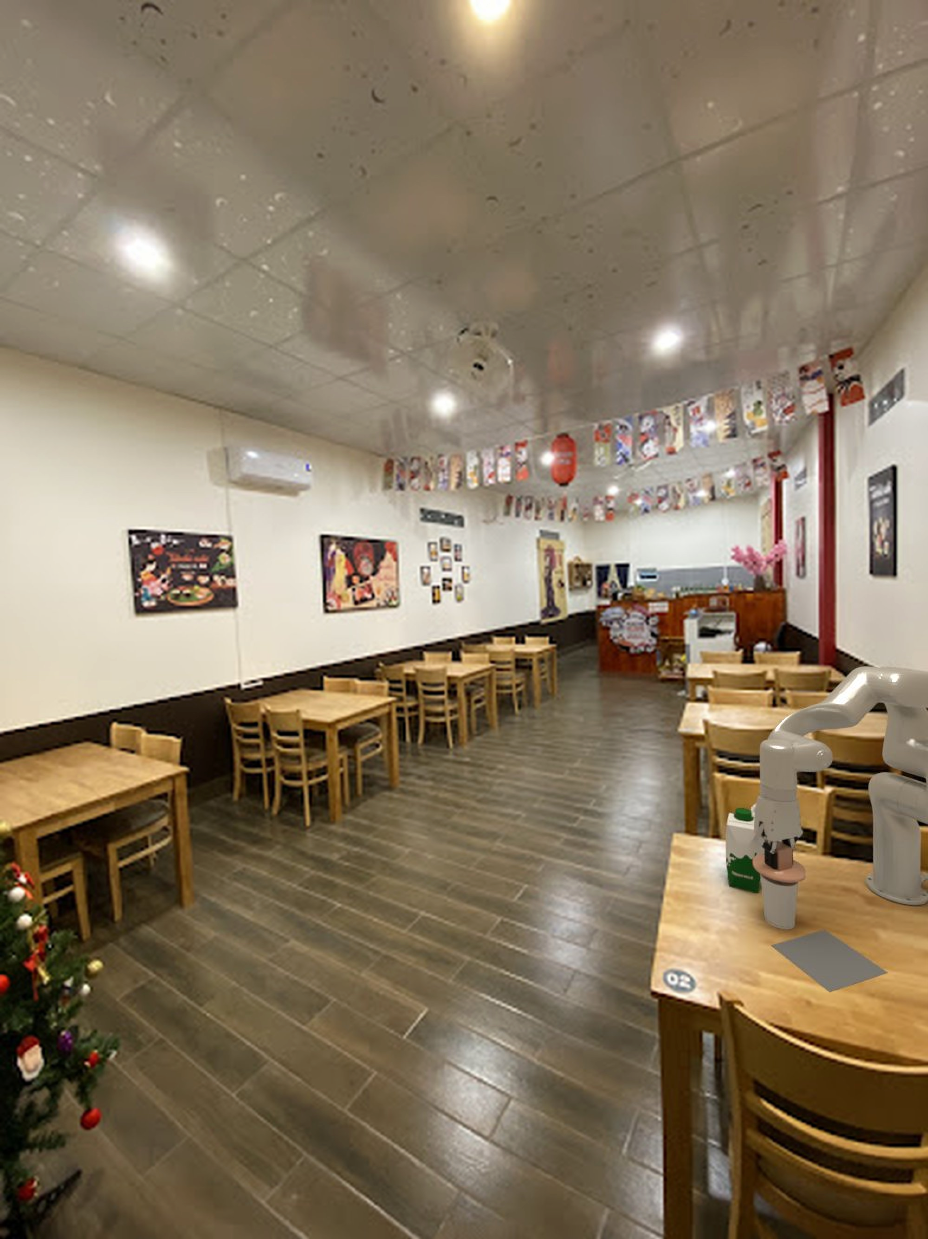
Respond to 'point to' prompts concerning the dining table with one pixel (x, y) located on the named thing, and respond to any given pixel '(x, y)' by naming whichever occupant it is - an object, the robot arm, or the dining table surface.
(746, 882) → the soya milk
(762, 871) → the lid
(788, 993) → the dining table surface
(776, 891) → the cup
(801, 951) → the mat
